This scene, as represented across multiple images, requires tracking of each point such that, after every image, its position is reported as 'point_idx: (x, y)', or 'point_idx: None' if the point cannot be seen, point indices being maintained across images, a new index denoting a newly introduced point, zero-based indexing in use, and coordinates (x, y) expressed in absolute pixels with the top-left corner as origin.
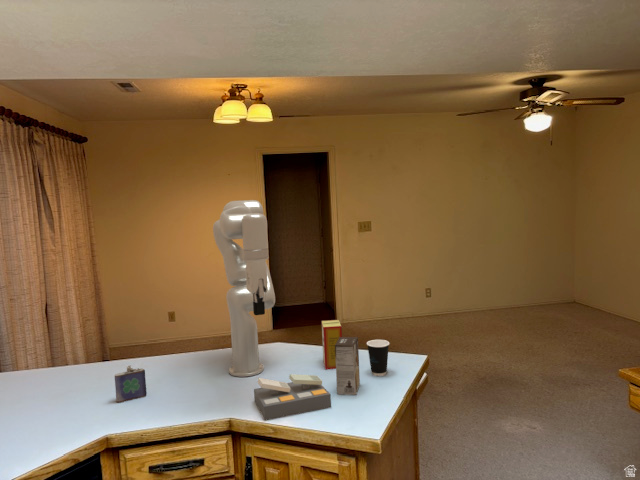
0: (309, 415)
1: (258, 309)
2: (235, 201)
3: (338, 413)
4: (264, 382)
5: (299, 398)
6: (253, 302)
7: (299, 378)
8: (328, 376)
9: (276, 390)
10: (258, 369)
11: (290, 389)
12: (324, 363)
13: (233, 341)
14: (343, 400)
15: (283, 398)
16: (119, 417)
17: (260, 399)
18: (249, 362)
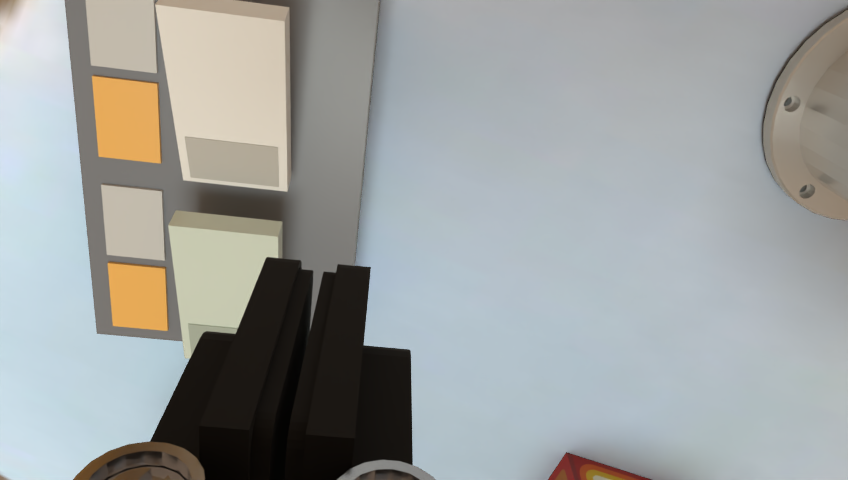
0: (73, 178)
1: (191, 377)
2: None
3: (45, 295)
4: (196, 33)
5: (102, 182)
6: (303, 426)
7: (201, 262)
8: (475, 429)
9: None
10: (797, 172)
11: (253, 189)
12: (610, 477)
13: None
14: (173, 368)
15: (128, 102)
16: None
17: None
18: (839, 131)
